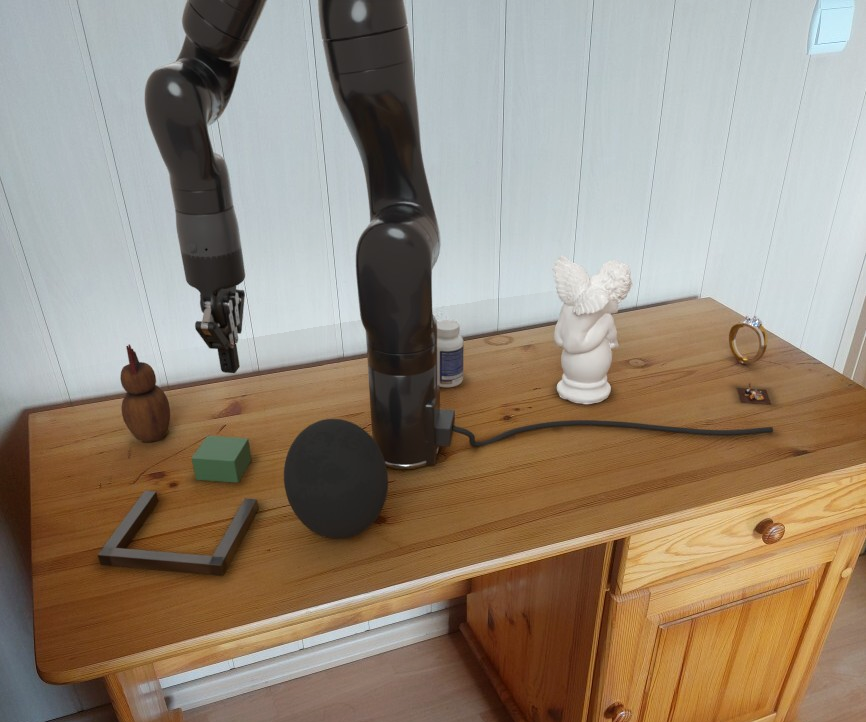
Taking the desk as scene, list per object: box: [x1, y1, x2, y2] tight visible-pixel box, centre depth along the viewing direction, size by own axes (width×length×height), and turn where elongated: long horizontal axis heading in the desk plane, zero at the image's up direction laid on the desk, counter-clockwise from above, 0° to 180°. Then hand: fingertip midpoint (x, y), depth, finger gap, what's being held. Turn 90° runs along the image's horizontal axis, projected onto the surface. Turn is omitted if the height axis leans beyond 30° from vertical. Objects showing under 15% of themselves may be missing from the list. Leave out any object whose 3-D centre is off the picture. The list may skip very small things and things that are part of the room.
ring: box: [728, 315, 769, 365], centre depth 136 cm, size 7×3×8 cm, turn 26°
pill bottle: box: [437, 319, 465, 389], centre depth 131 cm, size 5×5×10 cm
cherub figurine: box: [552, 254, 633, 405], centre depth 122 cm, size 12×12×22 cm
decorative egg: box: [283, 418, 389, 540], centre depth 98 cm, size 12×12×15 cm
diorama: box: [736, 382, 772, 405], centre depth 129 cm, size 3×4×2 cm
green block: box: [190, 435, 253, 484], centre depth 112 cm, size 6×6×4 cm
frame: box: [97, 490, 259, 577], centre depth 101 cm, size 15×14×2 cm
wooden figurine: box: [119, 343, 171, 443], centre depth 116 cm, size 7×6×15 cm
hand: (230, 370), depth 113 cm, fingers closed
